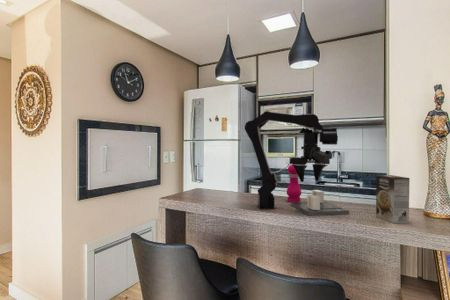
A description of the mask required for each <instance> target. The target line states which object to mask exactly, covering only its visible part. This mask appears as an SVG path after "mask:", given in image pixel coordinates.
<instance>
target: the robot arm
mask: <svg viewBox="0 0 450 300" xmlns="http://www.w3.org/2000/svg"><path fill="white" fill-rule="evenodd" d="M319 121H320V120H319V117H318V116H317V115H316V114H314V113H305V114H290V113H282V112H272V111H269V110H265V111H263V113H261V114H260V115H258V116H256V117H255V118H254V119H253V120H248V121H246V122H245V124H244V131H245V132H246V134H247V136H248V138H249V140H250V141H251V143H252V146H253V149H254V153H255V156H256V159H257V163H258V165H259V169H260V172H261V184H262V185H261V187H259V188H258V189H257V204H256V207H257V208H258V209H260V210H275V209H276V208H275V197H274V194H273V193H272V192H273V191H275V190H276V188H277V186H278V182H279V179H278V178H277V174H276V172H272V169H271V168H270V165H269V162H268V158H267V155H266V152H265V149H264V147H263V142H262V140H261V139H262V137H261V128H262V127H264V126H265V125H266V124H267V123H268V122H276V123H284V124H285V123H286V124H292V125H295V126H296V125H297V126H300V127H302V129H301V130H300V131H299V134H300V135H302V134H303V142H302V143H303V146H300V147H301V148H300V149H301V150H302V151H303V152H302V154H303V155H301V156H299V157H297V156H293V157H290V158H289V165H292V164H294V165H292V166H293V167H294V168H295V170H296V172H297V174H298V176H299V177H298V179H299V181H300V182H302V183H303V182H304V180H305V170H306V168H307V167H308V165H307V164H312V169H313V175H314V180H315V181H316V182H317V181H319V180H320V177H321V174H322V172H323V169H325V168H326V167H328V165H330V164H331V163H330V162H331V161H330V160H332V159H333V151H331V150H325V151H322V150H321V146H319V145H318V143H321V145H327V146H328V145H330V146H331V145H334V146H335V145H336V146H337V145H338V142H339V141H338V139H339V138H338V137H339V136H338V131H337V129H338V128H336V127H332V128H324V127H323V125H321V123H320V122H319Z"/></svg>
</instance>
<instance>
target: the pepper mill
mask: <svg viewBox="0 0 450 300" xmlns="http://www.w3.org/2000/svg"><path fill="white" fill-rule="evenodd" d="M292 165H294V164H289V165H288V167H287V172H288V173H289V174H288V177H289V184H288V186H287V188H286V195H287V202H289V203H290V202H298V201H301V195H302V189H301V186H300V185H299V176H298V174H297V172H296V170H295V168H294V167H293V166H292Z"/></svg>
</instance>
